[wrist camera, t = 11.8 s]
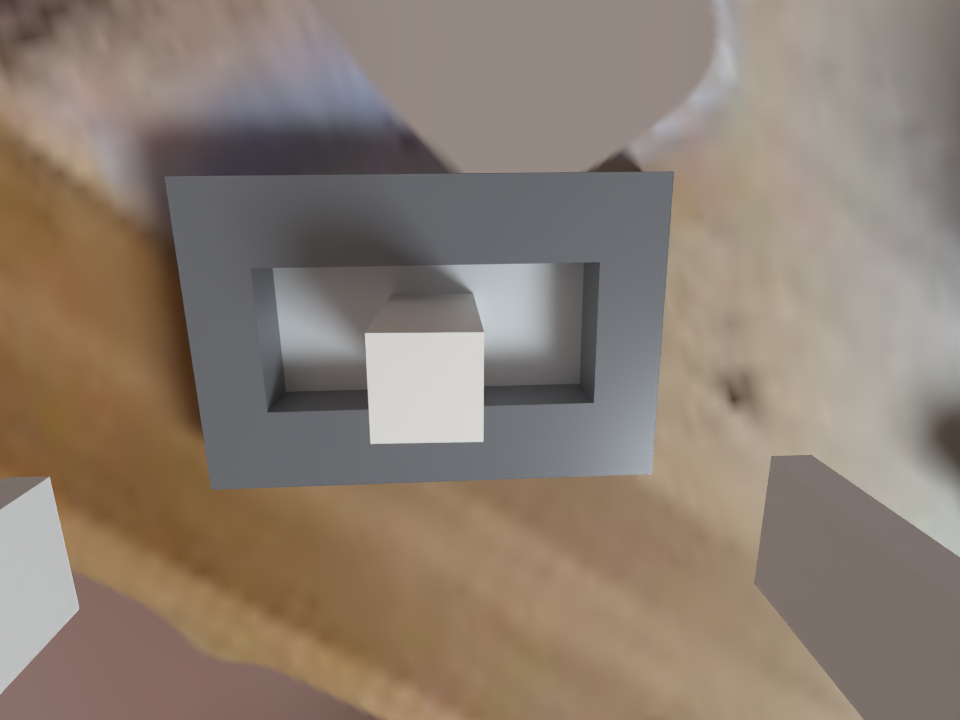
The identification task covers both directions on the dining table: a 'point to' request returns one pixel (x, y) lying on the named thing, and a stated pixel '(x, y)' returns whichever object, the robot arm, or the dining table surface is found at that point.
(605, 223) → the block
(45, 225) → the dining table surface
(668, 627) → the dining table surface
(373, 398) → the plug
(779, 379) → the dining table surface
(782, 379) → the dining table surface
